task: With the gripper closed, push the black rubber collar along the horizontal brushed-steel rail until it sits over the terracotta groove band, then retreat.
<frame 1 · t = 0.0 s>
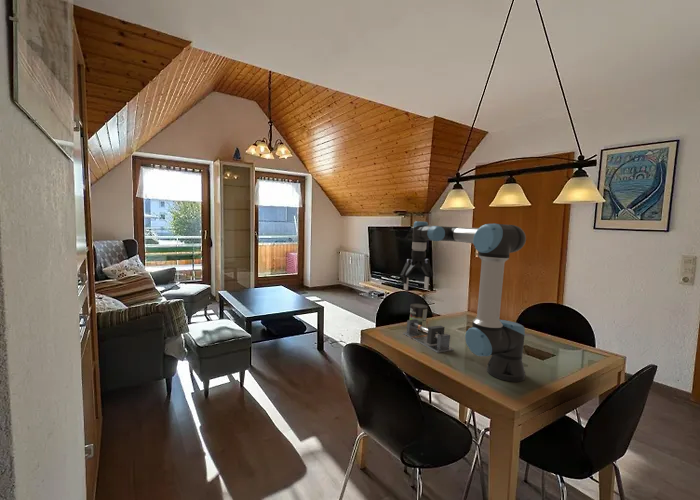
hand: (416, 289, 182), 28 cm above the table, fingers open, 13 cm apart
rail: (426, 341, 182), on the table
collar: (435, 334, 176), point 6 cm above the table, slide at -7.0 cm
stacking toy: (483, 343, 185), on the table
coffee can: (417, 328, 206), on the table
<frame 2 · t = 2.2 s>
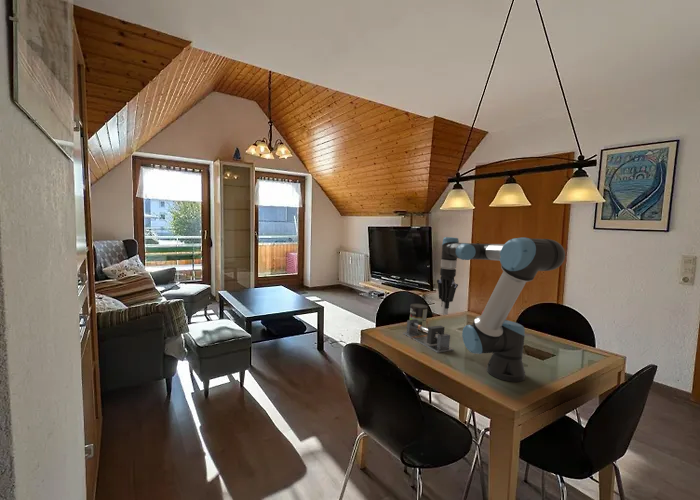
hand: (444, 314, 170), 18 cm above the table, fingers closed
nothing on the table moved.
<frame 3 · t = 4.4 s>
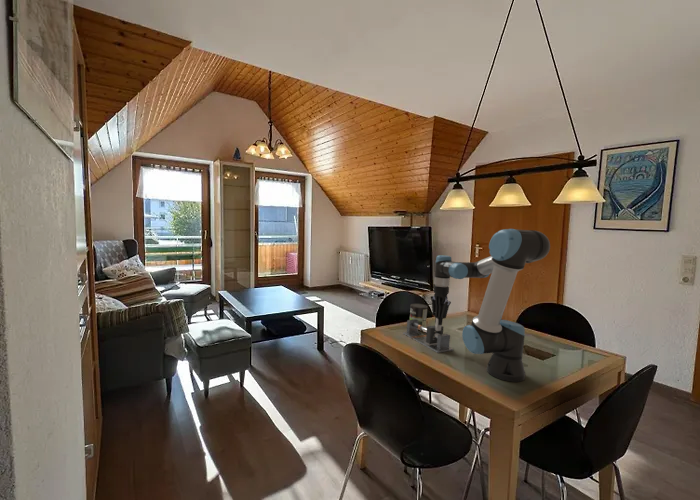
hand: (438, 330, 174), 9 cm above the table, fingers closed
collar: (434, 334, 176), point 6 cm above the table, slide at -6.2 cm, touching gripper
everything else where it was.
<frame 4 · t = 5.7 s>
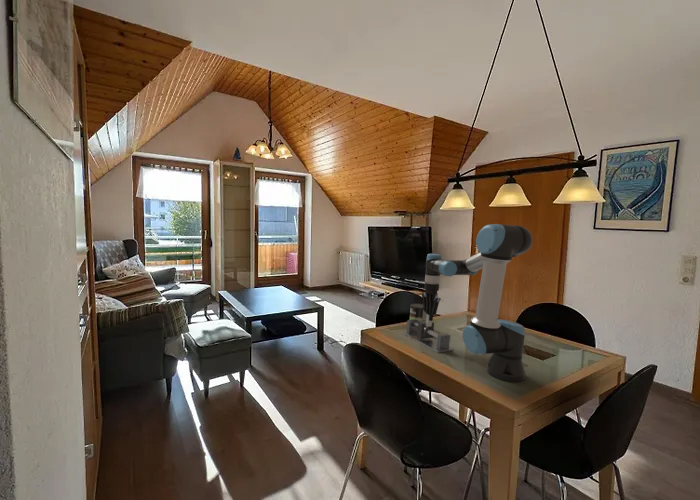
hand: (428, 326, 181), 9 cm above the table, fingers closed
collar: (425, 330, 183), point 6 cm above the table, slide at 1.3 cm, touching gripper
everything else where it was.
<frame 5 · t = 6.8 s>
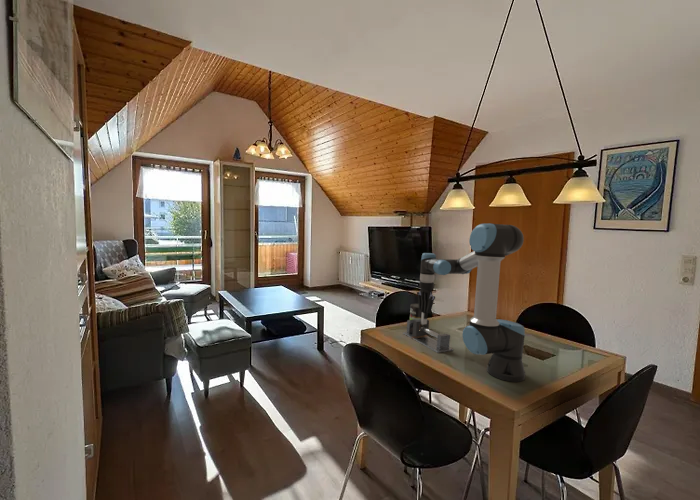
hand: (423, 323, 185), 9 cm above the table, fingers closed
collar: (420, 327, 187), point 6 cm above the table, slide at 5.5 cm, touching gripper
everything else where it was.
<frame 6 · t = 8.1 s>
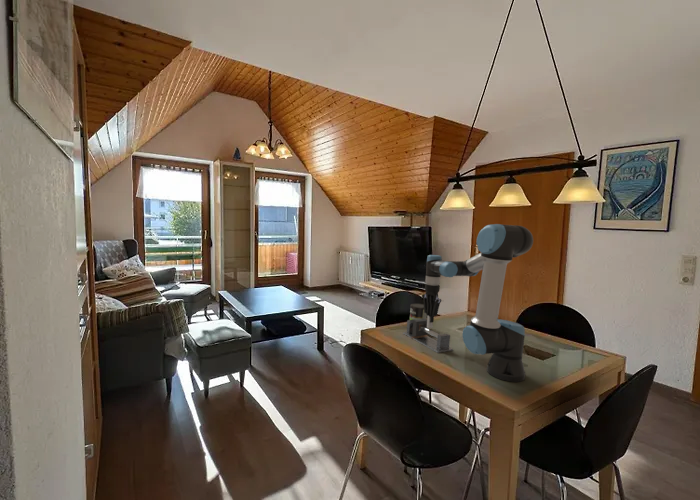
hand: (429, 327, 180), 8 cm above the table, fingers closed
collar: (420, 327, 187), point 6 cm above the table, slide at 5.7 cm
everything else where it was.
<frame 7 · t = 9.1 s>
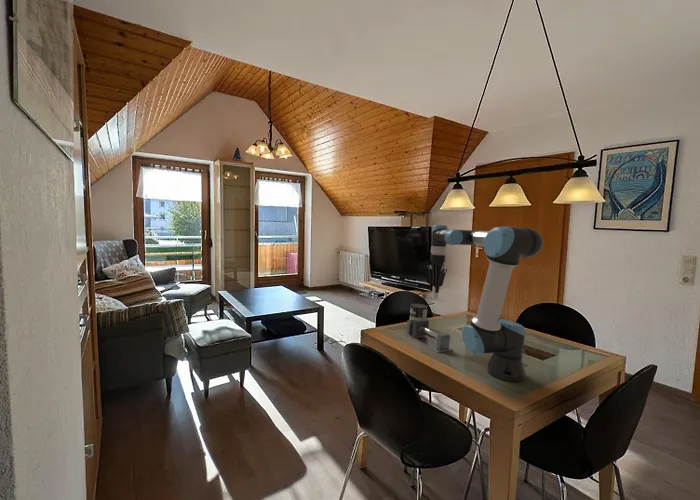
hand: (434, 298, 179), 24 cm above the table, fingers closed
nothing on the table moved.
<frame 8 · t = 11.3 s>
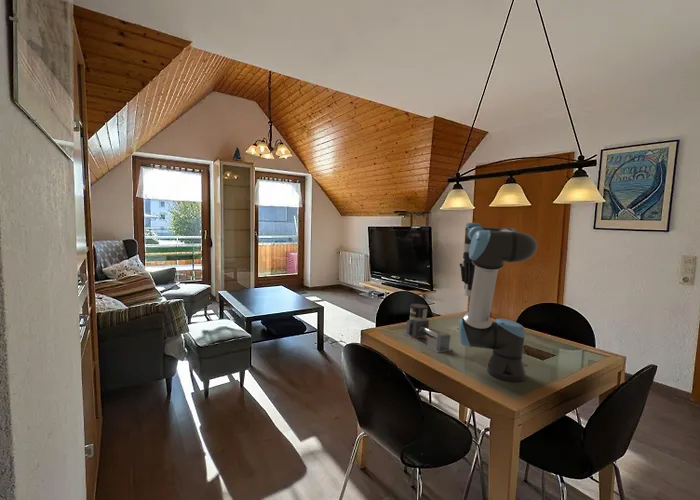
hand: (467, 295, 180), 26 cm above the table, fingers closed
nothing on the table moved.
at the end: collar slide at 5.7 cm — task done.
